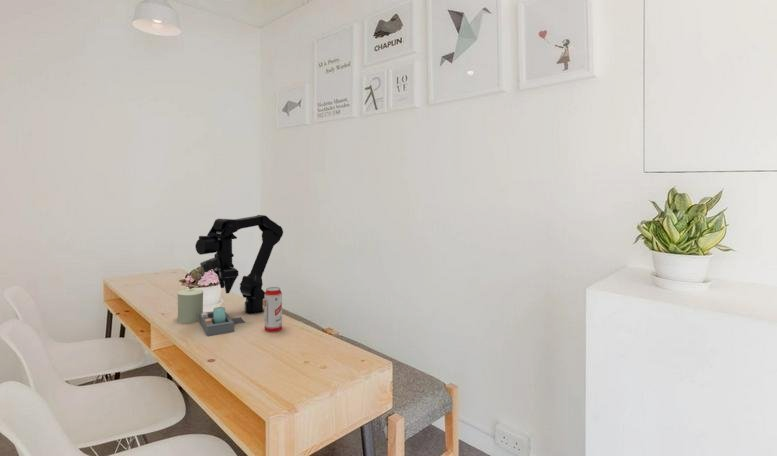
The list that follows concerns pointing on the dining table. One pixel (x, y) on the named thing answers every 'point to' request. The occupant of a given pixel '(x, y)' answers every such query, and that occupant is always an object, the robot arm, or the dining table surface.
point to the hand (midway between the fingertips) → (224, 290)
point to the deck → (238, 320)
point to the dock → (214, 329)
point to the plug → (219, 315)
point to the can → (190, 305)
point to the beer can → (273, 309)
